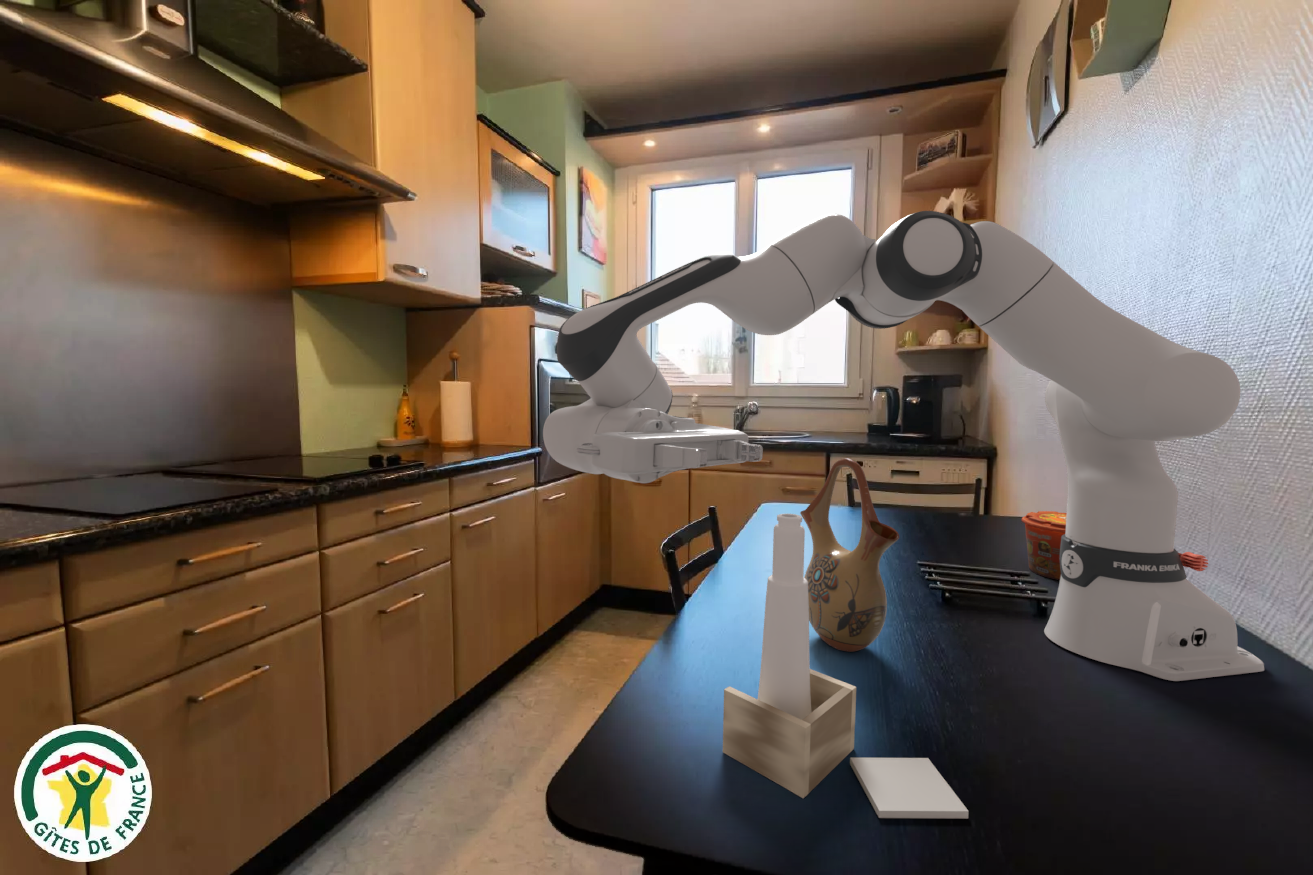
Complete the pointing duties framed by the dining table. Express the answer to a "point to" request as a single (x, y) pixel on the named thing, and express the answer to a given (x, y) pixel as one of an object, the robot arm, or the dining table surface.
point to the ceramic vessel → (846, 571)
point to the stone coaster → (907, 788)
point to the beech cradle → (792, 734)
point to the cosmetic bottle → (786, 624)
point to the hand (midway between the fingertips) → (732, 456)
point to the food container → (1044, 542)
